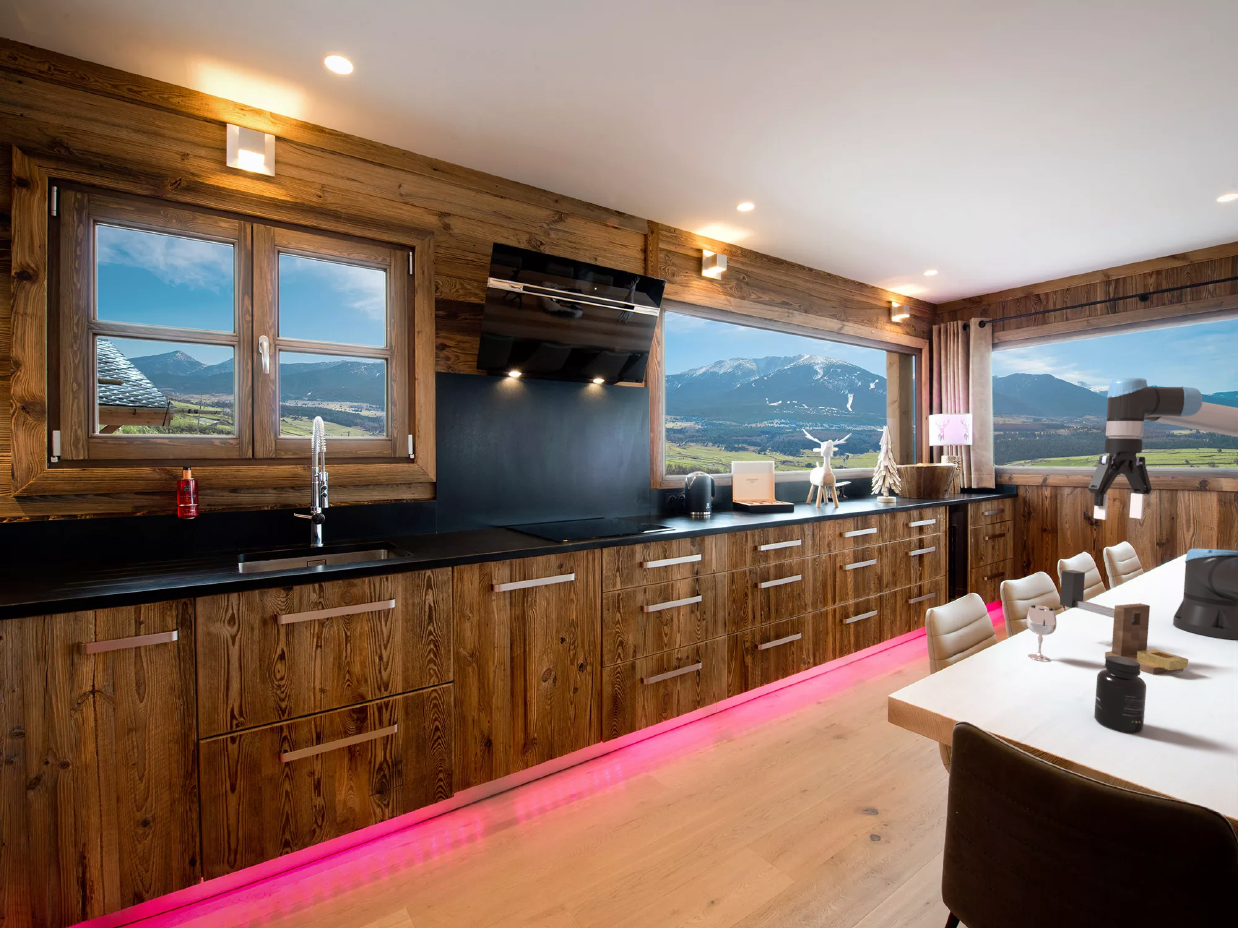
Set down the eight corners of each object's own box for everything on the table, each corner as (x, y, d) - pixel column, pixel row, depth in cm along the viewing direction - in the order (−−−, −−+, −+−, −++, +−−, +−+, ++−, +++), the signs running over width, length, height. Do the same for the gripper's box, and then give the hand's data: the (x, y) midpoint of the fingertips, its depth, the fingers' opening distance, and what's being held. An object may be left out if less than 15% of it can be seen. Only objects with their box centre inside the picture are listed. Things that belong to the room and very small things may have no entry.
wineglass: (1059, 663, 138) (1062, 612, 137) (1031, 661, 139) (1034, 610, 138) (1046, 654, 143) (1049, 605, 143) (1020, 652, 144) (1023, 603, 144)
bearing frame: (1104, 658, 142) (1108, 604, 141) (1133, 654, 145) (1137, 601, 145) (1153, 674, 133) (1157, 616, 132) (1183, 670, 136) (1187, 614, 135)
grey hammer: (1059, 604, 155) (1061, 570, 155) (1070, 603, 157) (1073, 569, 156) (1125, 622, 141) (1128, 585, 140) (1137, 621, 142) (1140, 584, 141)
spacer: (1137, 651, 137) (1169, 661, 131) (1155, 649, 139) (1188, 659, 133) (1136, 659, 137) (1169, 670, 131) (1154, 657, 139) (1187, 667, 133)
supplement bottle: (1084, 716, 111) (1088, 653, 110) (1118, 716, 111) (1122, 652, 111) (1118, 735, 104) (1122, 667, 103) (1154, 734, 104) (1158, 667, 104)
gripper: (1140, 439, 163) (1134, 515, 164) (1074, 436, 156) (1069, 517, 157) (1172, 439, 156) (1166, 519, 157) (1105, 436, 149) (1100, 521, 149)
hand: (1118, 518), depth 157 cm, fingers open, 13 cm apart
